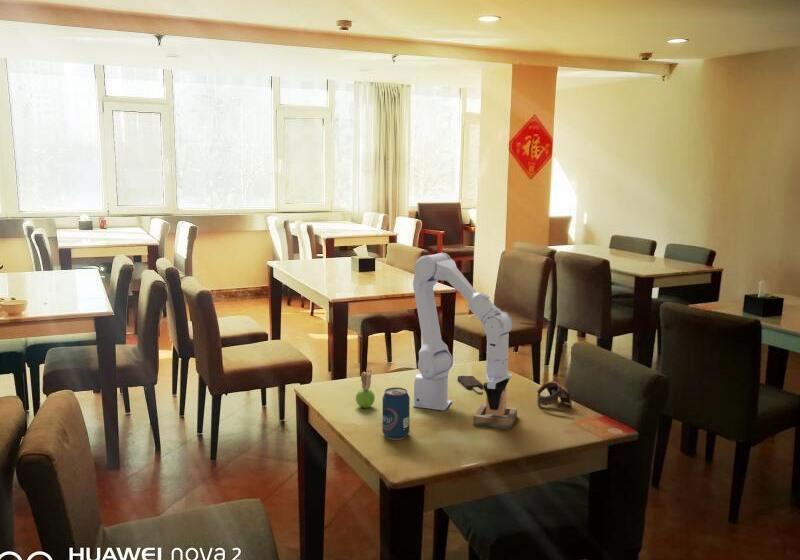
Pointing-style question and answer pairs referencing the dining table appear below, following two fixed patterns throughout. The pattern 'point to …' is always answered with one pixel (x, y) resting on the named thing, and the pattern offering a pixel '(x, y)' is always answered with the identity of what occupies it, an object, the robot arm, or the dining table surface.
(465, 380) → the ice cream bar
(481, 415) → the walnut base
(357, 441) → the dining table surface
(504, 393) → the terracotta block
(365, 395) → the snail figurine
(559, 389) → the dark looped band sculpture
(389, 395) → the soda can
